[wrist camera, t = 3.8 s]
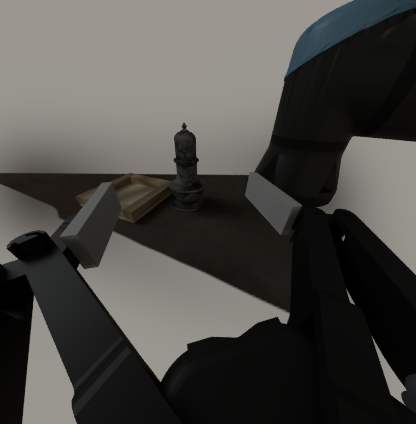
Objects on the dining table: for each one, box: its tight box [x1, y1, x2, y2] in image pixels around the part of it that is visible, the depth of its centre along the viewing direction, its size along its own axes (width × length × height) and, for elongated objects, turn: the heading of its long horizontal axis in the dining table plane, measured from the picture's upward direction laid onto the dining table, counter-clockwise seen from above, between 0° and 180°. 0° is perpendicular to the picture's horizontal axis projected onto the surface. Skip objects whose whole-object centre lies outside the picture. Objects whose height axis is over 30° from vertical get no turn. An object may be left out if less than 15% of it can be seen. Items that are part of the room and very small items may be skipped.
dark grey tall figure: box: [169, 123, 206, 212], centre depth 22 cm, size 6×6×12 cm
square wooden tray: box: [76, 173, 172, 223], centre depth 26 cm, size 11×11×2 cm
